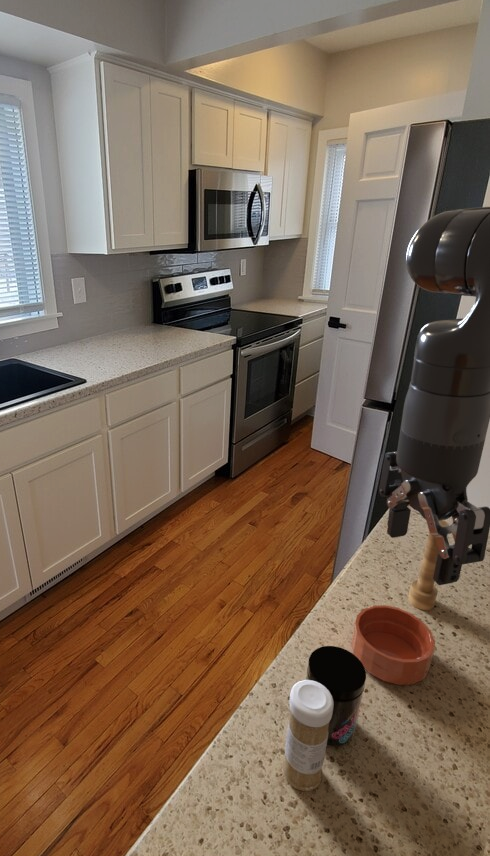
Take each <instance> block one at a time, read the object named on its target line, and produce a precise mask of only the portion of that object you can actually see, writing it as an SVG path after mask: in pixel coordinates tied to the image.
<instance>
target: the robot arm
mask: <svg viewBox="0 0 490 856" xmlns="http://www.w3.org/2000/svg"><path fill="white" fill-rule="evenodd" d="M419 227H420V228H418V229H417V230H416V232H415V233H414V235H413V237H412V238H411V240H410V242H409V244H408V247H407V251H406V257H405V259H406V260H405V263H406V270H407V273H408V275H409V277H410V279H411V280H412V282H414V284H415V285H416V286H418V287H419V288H420V289H422V290H424V291H427V292H429V293H433V294H435V293H436V294H443V295H452V296H464V297H472V298H473V297H474V298H475V300H474V304H473V306H472V307H471V309H470V311H468V313H467V314H466V316H465V317H464V318H448V319H440V320H435V321H432V322H429V323H427V324H425V325H424V326H423V327H422V328H421V329H420V331H419V332H418V335H417V337H416V338H417V339H416V341H415V348H414V355H413V362H412V367H411V368H412V369H411V375H410V382H409V385H408V389H407V393H406V395H405V399H404V403H403V409H402V416H401V423H400V428H399V437H398V443H397V448H396V449H397V450H396V451H392V452H386V453H385V454H384V458H383V459H384V460H383V465H382V470H381V476H380V480H379V488H378V493H379V495H380V497H385V498H386V506H387V508H388V509H389V511H388V518H387V524H386V525H387V529H386V533H387V535H388V536H389V537H390V538H392V539H394V538H400V537H404V536H406V535H407V534H408V528H409V523H410V516H411V511H412V510H411V509H410V508H409V507H411V508H412V509H413V510H414V511H417V512H418V513H419V514H420V516H421V517H422V518H423V519H424V520H425V521H426V524H427V528H428V533H429V532H430V534H431V535H433V536H435V538H436V541H437V545H438V548H439V552H440V553H438V556H437V561H436V566H435V571H434V576H433V580H434V581H435V582H434V583H436V584H437V585H438V586H443V585H449V584H453V583H457V582H458V581H459V580H460V576H461V572H462V567H463V565H468V564H475V563H480V562H483V561H484V560H485V555H486V551H487V550H486V549H487V545H488V539H489V535H490V507H489V506H479V507H478V506H476V505H474V504H472V503H471V502H469V501H468V500H469V499H468V493H467V488H468V485H469V484H471V482H472V481H473V480H474V478H476V476H477V475H478V473H479V469H480V463H481V459H482V456H483V455H482V454H483V450H484V446H485V443H486V439H487V438H486V437H487V433H488V429H489V424H490V206H481V207H479V206H478V207H468V208H460V209H451V210H445V211H442V212H440V213H438V214H436V215H434V216H432V217H431V218H429V219H428V220H427V221H425V222H424V223H423V224H422V225H421V226H419ZM392 481H394V483H393V484H392V485H391V482H392ZM450 518H451V519H452V524H451V525H449V526H444V527H442V526H441V525H440V524H439V521H440V520H443V521H445V520H448V519H450ZM450 534H452V537H453V541H454V544H451V545H450V542H449V538H448V535H450ZM470 547H471V548H470Z"/></svg>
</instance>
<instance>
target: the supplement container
mask: <svg viewBox="0 0 490 856" xmlns="http://www.w3.org/2000/svg"><path fill="white" fill-rule="evenodd" d="M366 671H367V670H366V669H365V668H364V666H363V664H362V663H361V661H360V660H359V659H358V658H357V657H356V656H355V655H354V654H353V652H351V651H349V650H347V649H345V648H343V647H340V646H334V645H324V646H320V647H317V648H316V649H314V650H312V652H311V653H310V655H309V656H308V662H307V668H306V680H312V681H316V682H318V683H320V684H322V685H323V686H325V687H326V688H327V689H328V691H329V692H330V693H331V695H332V698H333V704H334V705H333V713H332V718H331V720H330V722H329V727H328V739H327V745H326V747H333V748H337V747H342V746H345V745H346V744H348V743H350V742H351V741H352V740H353V738H354V736H355V735H356V729H357V724H358V718H359V714H360V708H361V703H362V700H363V699H362V698H363V693H364V692H365V686H366V680H367V672H366Z"/></svg>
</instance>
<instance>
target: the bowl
mask: <svg viewBox="0 0 490 856" xmlns="http://www.w3.org/2000/svg"><path fill="white" fill-rule="evenodd" d="M350 646H351V650H352V654H354V655H355V656H356V657H357V658H358V659H359V660H360V661H361V663H362V664H363V666H364V668H365V671H367V672H368V673H369V674H371V675H372V676H374V677H376V678H378V679H379V680H382V681H383V682H385V683H386V682H387V683H390V684H395V685H399V686H400V685H402V686H403V685H405V686H406V685H415V684H416V683H418V682H421V681H423V680H424V679H425V678H426V676H427V675H428V674H429V672H430V669H431V664H432V660H433V657H434V653H435V646H436V640H435V638H434V635H433V633H432V631H431V629H430V628H429V627H428V626H427V624H425V622H424V621H422V620H421V619H420V618H418V617H417V616H416V615H414V614H413V613H411V612H408V611H406V610H403V609H402V608H399V607H396V606H392V605H386V604H381V605H376V604H375V605H371V606H368V607H365V608H363V609H362V610H361V611H360V612H359V613H357V615H356V618H355V621H354V626H353V632H352V637H351V644H350Z"/></svg>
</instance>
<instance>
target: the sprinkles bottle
mask: <svg viewBox="0 0 490 856" xmlns="http://www.w3.org/2000/svg"><path fill="white" fill-rule="evenodd" d="M288 701H289V702H288V706H289V717H288V722H287V729H286V737H285V738H286V739H285V746H284V747H285V748H284V760H283V763H282V770H283V771H282V772H283V775H284V777H285V779H286V780H287V782H288V783H289V785H291V786H292V788H293V789H294V788H295V789H296V790H298V791H302V792H311V791H313V790H315V789H316V788H318V787H319V785H320V783H321V781H322V780H321V779H322V769H323V766H324V762H325V756H326V752H327V751H326V750H327V739H328V727H329V722H330V720H331V718H332V713H333V705H334V704H333V698H332V695H331V693H330V692H329V691H328V689H327V688H326V687H325V686H323V685H322V684H320V683H318V682H316V681H312V680H307V679H303V680H299V681H297V682H296V683H295V684H294V685H292V687H291V689H290V694H289V700H288Z"/></svg>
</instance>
